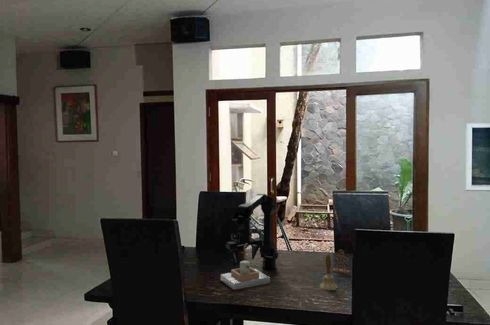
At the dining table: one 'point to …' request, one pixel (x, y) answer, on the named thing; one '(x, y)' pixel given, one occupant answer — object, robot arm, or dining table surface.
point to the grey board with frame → (244, 279)
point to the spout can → (244, 267)
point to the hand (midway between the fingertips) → (244, 260)
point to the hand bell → (328, 277)
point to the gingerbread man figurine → (337, 270)
